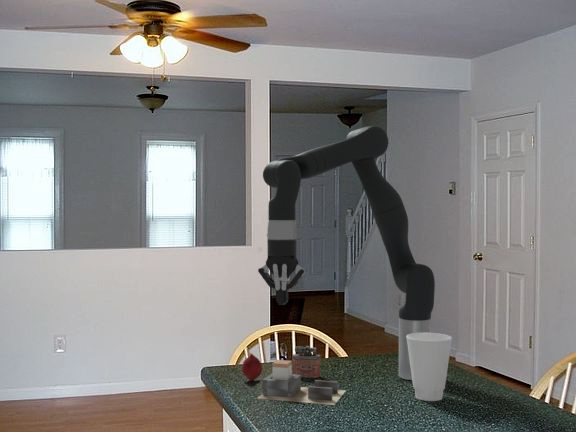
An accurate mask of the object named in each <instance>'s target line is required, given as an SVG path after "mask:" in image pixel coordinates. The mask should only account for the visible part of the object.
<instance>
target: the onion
mask: <svg viewBox="0 0 576 432" xmlns="http://www.w3.org/2000/svg"><path fill="white" fill-rule="evenodd" d="M262 365H263V364H262V362H261V361H260V359H259V358H257V356H255V355H254V353H253V352H250V353H249V356H248V357H247V358H245V359H244V360H243V362H242V365H241V372H242V374H243V376H245V377H246V378H247V379H248V380H249V381H250V382H253V381H254V380H256V379H257V378H259V377H260V376H261V375H262V372H263V366H262Z"/></svg>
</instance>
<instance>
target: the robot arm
mask: <svg viewBox="0 0 576 432" xmlns="http://www.w3.org/2000/svg"><path fill="white" fill-rule="evenodd" d="M388 147H389V136H388V134H387V133H386V131H385V130H384V129H383V128H382V127H380V126H377V125H368V126H364V127H361V128H357V129H354V130H352V131H350V132H349V133H348V134H347V136H346V138H345V139H344V140H341V141H338V142H334V143H330V144H329V143H328V144H325V145H322V146H318V147H315V148H312V149H309V150H307V151H304V152H301V153H299V154H296V155H293V156H287V157H284V158H283V157H282V158H278V159H275V160H272V161H270V162H269V163H268V164H266V166H265V167H264V169H263V171H262V172H263V173H262V178H263V181H264V183H265V184H266V185H267V186H269V187H271V188H274V189H275V188H276V194H275V196H274V197H272V198H270V199H269V201H268V214H267V216H268V217H267V218H268V221H267V234H266V237H267V258H266V261H265V264H264V265H263V266H262V267H259V268H258V270H257V272H258V274H260V276H261V278H262V279H263V280H264V282H265V283H266V285H267V286H268V287H269V288H271V289H275V293H276V294H275V301H276V303H277V304H278V306H279V305H280V306H284V305H286V304H287V303H288V302H289V290H290V289H293V288H294V287H296V285H297V284H298V283H299V282H300V280H301V279H302V277H303V276H304V275H305V274H306V272H307V269H306V268H303V267H301V266H300V265H299V260H298V258H297V224H296V222H297V221H296V203H297V200H298V197H299V192H300V188H301V181H302V180H305V179H306V180H307V179H310V178H314V177H317V176H319V175H322V174H324V173H327V172H330V171H332V170H334V169H338V168H339V167H342V166H343V165H346V164H348V163H352V166H353V168H354V170H355V171H356V172H355V173H356V175H357V176H358V178H359V180H360V182H361V185H362V187H363V190H364V194H365V196H366V198H367V201H368V203H369V206H370V210H371V212H372V216H373V219H374V222H375V223H376V227H377V229H378V232H379V234H380V238H381V240H382V243H383V245H384V247H385V250H386V253H387V256H388V257H387V258H388V261H389V266H390V268H391V272H392V277H393V281H394V283H395V286H396V287H397V289H398V290H399V291H401V292H402V293H404V294H405V302H404V304H403V306H400V308H399V310H398V377H399V378H401V379H402V380H403V379H404V380H406V381H407V380H409V381H412V374H411V367H410V359H409V352H408V344H407V338H406V336H407V335H408V334H412V333H432V326H431V325H432V312H433V311H434V306H435V305H434V304H435V290H436V288H435V285H436V284H435V283H436V282H435V281H436V280H435V275H434V272H433V270H432V268H431V267H429V266H428V265H426V264H421V263H417V262H416V260H415V259H414V256H413V252H412V250H411V248H410V245H409V217H408V214H407V210H406V208H405V204H404V202H403V199H402V197H401V195H400V194H399V193H398V191H397V189H395V188H394V187H393V186H392V184H391V183H390V182H389V181H388V180H386V178H385V177H384V176H383V174H382V173H381V171H380V169H379V168H378V167H379V166H378V165H377V162H376V160H375V159H377V158H379V157H381V156H383V155H384V154H385V153H386V152H387V150H388ZM294 272H295V276H294V277H292V279H291V276H292V274H294ZM269 273H271V274H272V276H273V278H272V276H271V275H270V274H269ZM290 279H291V281H290Z"/></svg>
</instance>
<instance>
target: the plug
mask: <svg viewBox="0 0 576 432" xmlns="http://www.w3.org/2000/svg"><path fill="white" fill-rule="evenodd" d="M272 373H273V376H272V379H274V380H288V381H289V380H291V379H292V374H293V360H284V359H283V360H282V359H276V360H274V362H272Z"/></svg>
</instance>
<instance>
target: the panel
mask: <svg viewBox="0 0 576 432" xmlns="http://www.w3.org/2000/svg"><path fill="white" fill-rule="evenodd" d="M272 376H273V372H271V373H270V374H269V375H267V376H265V378H263V379H262V394H261V395H259V396H258V397H256V400H257V399H259V400H269V401H270V400H271V401H279V402H280V401H282V402H293V403H304V404H305V403H307V404H308V403H309V404H319V405H330V406H335V405H336V404H337V403H338V402H339V400H340V398H342V396H343V395H344V394H345V393H346V391H347V389H346V390H344V389H339V381H334V380H321V379H315V380H314V386H313V385H308V386H307V387H305V386H302V383H301V382H302V381H301V380H302V379H301V378H302V377H301V375H295V374H293V373H292V379H291V380H289V381H288V380H274V379H272Z"/></svg>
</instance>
